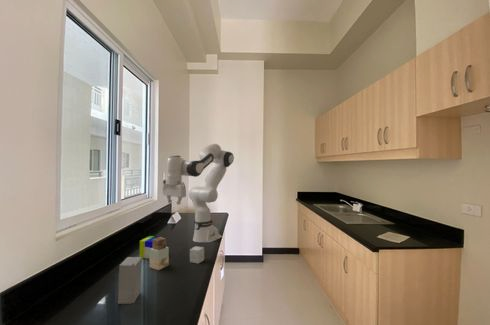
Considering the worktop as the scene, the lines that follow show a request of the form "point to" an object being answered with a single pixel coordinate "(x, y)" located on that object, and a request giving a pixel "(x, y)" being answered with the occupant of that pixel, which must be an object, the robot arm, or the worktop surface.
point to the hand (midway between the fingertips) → (174, 203)
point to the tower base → (159, 263)
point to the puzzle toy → (146, 246)
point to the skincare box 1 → (129, 280)
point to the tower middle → (159, 253)
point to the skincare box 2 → (196, 254)
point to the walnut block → (159, 243)
